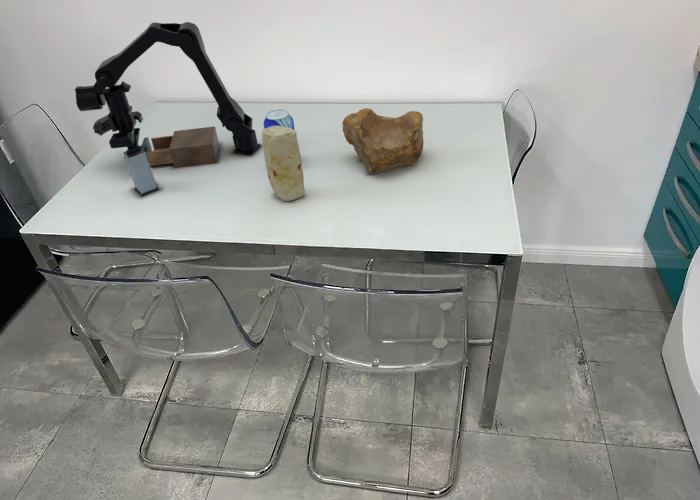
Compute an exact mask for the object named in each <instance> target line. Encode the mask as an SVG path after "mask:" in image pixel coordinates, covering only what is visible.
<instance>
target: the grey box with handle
mask: <svg viewBox="0 0 700 500" xmlns="http://www.w3.org/2000/svg"><path fill="white" fill-rule="evenodd" d="M138 146H139V147H136V148H134V149H131V150H128V151H127V150H126V151H123V152H122V153H123V158H124V157H125V159H126V160H125V159H124V160H125V162H126V165H127V168H128V171H129V173H130V177H131V179H132V181H133V185H134V188H133V190H134V191H135V192H136V193H137V194H138V195H139V196H140V197H141V198H142V197H144V196H145V197H146V196H147V195H149V194H152V193H154V192H157V191H159V190H160V187H158V186H157V184H156V181H155V178H154V173H153V171H152V168H151V166H150V163H149V162H148V159H147V156H146V153H145V152H144V151H143V150H142V149H141V147H140V146H141V145H138Z"/></svg>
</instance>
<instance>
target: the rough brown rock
mask: <svg viewBox="0 0 700 500" xmlns="http://www.w3.org/2000/svg"><path fill="white" fill-rule="evenodd" d="M423 122H424V116H423V114H422V112H420V111H416V110H410V111H407V112H406V113H405V114H402V115H400V116H397V117H391V116H384V115H380V114H377V113H376V112H375V111H374V110H373V109H372V108H368V107H367V108H361V109H360V110H358V111H357V112H354V113H353V112H352V113H350V114H347V115H346V116H345V117H344V118H343V121H341V123H342V132H343V135H344V138H345V140H346V142H347V143H348V144H349V145H351V146H352V147H353V150H354V151H355V153H356V154H357V156H358V157H359V158H360V159H361V160H362V162H363V165H364V166H365V168H366V171H367V173H368V174H370V175H374V174H379V173H382V172H384V171H387V170H389V169H392V168H397V167H406V166H407V167H408V166H411V165H414V164H415V163H416V162H417V161H418V160H419V158H420V157H421V155H422V154H423V150H424V130H423V126H424V124H423Z"/></svg>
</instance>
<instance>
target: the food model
mask: <svg viewBox="0 0 700 500" xmlns="http://www.w3.org/2000/svg"><path fill="white" fill-rule="evenodd" d="M294 129H295V128H294ZM294 129H292V128H288V127H283V126H271V127H268V128H265V129H264V128H263V129H262V131H261V139H262V148H263V149H262V150H263V155H264V163H265V168H266V173H267V177H268V180H269V184H270V187H271V189H272V191H273V193H274V195H275V196H276V197H278V198H279V199H281V200H282V201H285V202H292V201H294V200H297V199H299V198H301V197H303V196H304V194H305V192H306V189H305V181H304V179H305V178H304V172H303V171H304V169H303V166H302V165H303V164H302V157H301V151H300V146H299V142H298V136H297V131H296V129H295V130H294Z"/></svg>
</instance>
